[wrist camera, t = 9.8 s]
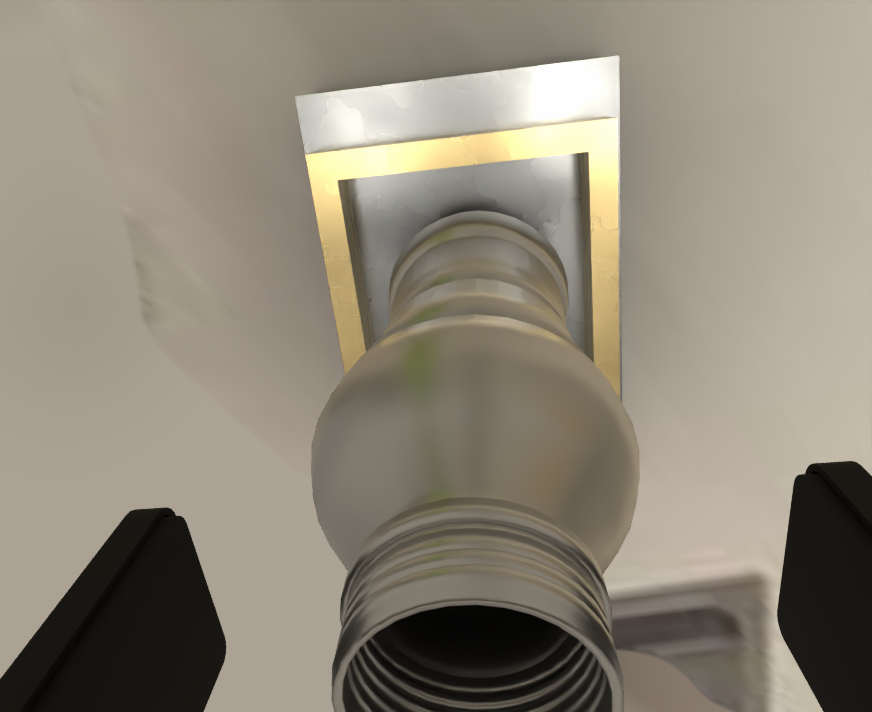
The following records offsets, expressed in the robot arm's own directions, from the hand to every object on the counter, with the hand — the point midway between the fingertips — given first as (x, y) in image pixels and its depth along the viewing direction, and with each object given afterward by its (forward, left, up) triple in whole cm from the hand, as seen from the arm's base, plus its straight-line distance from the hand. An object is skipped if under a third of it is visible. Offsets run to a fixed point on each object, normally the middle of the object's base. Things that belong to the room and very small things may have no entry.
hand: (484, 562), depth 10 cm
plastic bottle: (0, 0, -18) cm, 18 cm away
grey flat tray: (+1, 0, -21) cm, 21 cm away
